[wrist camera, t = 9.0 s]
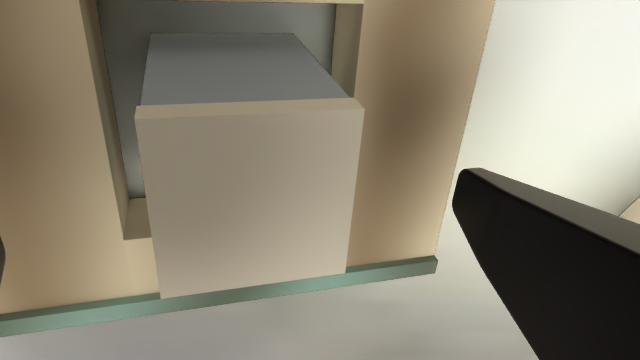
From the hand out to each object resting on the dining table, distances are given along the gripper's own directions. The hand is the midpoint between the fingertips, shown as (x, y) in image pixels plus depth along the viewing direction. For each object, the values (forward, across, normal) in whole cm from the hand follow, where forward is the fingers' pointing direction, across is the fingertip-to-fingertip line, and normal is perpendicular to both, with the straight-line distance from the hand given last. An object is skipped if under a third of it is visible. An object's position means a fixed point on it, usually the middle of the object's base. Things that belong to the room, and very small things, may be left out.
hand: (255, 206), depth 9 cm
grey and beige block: (+6, 0, 0) cm, 6 cm away
